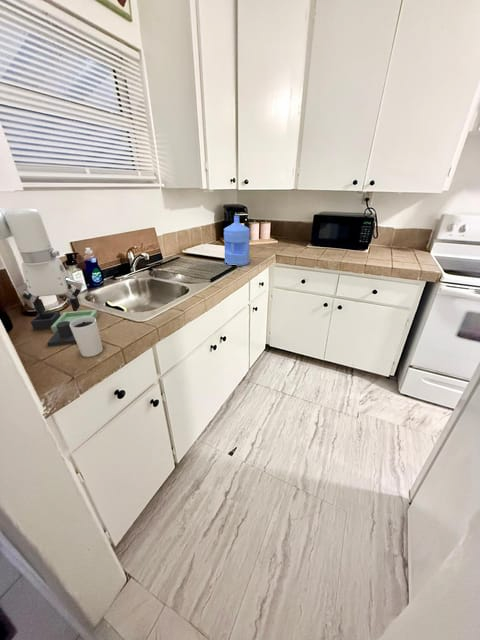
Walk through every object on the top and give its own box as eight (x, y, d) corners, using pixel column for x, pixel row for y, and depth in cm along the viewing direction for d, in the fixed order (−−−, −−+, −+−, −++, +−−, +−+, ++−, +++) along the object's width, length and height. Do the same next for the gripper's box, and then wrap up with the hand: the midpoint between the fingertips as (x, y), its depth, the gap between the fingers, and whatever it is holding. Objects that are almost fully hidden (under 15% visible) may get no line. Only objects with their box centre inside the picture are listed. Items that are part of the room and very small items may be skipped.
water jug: (230, 258, 173) (230, 213, 160) (252, 261, 168) (254, 215, 155) (220, 264, 161) (218, 216, 147) (243, 267, 155) (244, 217, 142)
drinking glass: (75, 352, 78) (64, 323, 73) (96, 342, 83) (88, 314, 78) (87, 360, 74) (76, 330, 70) (108, 349, 79) (100, 320, 75)
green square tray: (52, 332, 88) (50, 327, 87) (65, 317, 98) (63, 312, 97) (89, 329, 90) (88, 323, 89) (98, 314, 100) (97, 309, 99)
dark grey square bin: (34, 330, 90) (30, 321, 88) (42, 321, 95) (39, 313, 94) (55, 328, 91) (51, 319, 89) (62, 319, 96) (59, 311, 95)
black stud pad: (48, 346, 81) (42, 331, 79) (59, 332, 88) (53, 319, 86) (77, 343, 82) (72, 328, 80) (85, 330, 90) (81, 316, 87)
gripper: (76, 251, 78) (92, 303, 86) (11, 255, 75) (34, 309, 83) (67, 257, 71) (85, 313, 79) (-5, 262, 68) (22, 319, 76)
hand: (59, 311), depth 81 cm, fingers open, 9 cm apart
